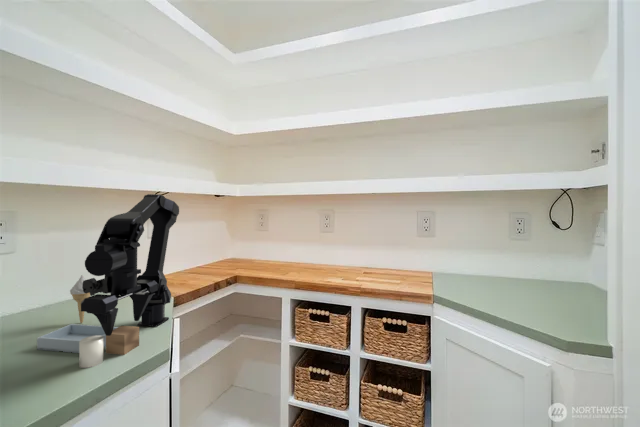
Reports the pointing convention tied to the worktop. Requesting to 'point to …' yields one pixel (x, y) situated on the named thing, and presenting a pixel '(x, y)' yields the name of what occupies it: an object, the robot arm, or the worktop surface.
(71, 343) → the grey blue tray
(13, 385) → the worktop surface
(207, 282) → the worktop surface
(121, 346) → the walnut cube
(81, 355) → the cream cylinder
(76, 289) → the ice cream cone
